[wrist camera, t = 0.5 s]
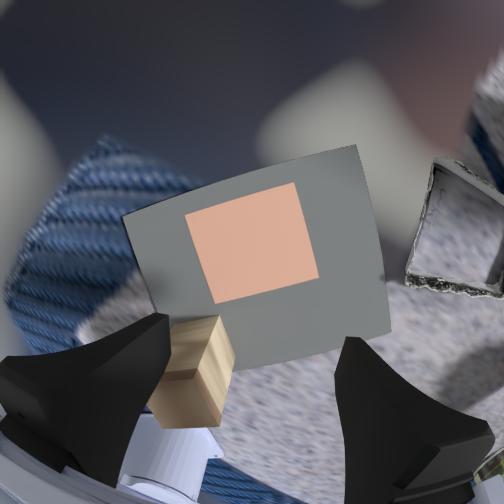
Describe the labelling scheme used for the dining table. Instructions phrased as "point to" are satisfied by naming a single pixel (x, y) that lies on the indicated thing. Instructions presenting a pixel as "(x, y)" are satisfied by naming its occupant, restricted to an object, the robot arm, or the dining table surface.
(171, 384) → the maple block
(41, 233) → the dining table surface
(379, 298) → the rubber mat
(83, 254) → the dining table surface
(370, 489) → the robot arm
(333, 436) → the dining table surface
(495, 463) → the coffee can
